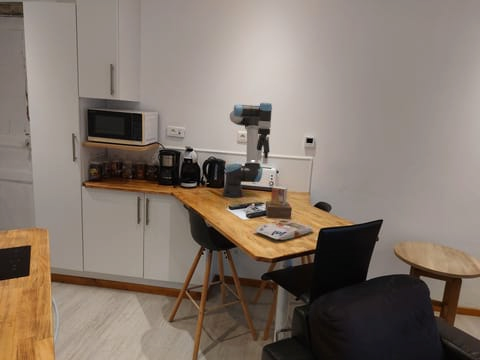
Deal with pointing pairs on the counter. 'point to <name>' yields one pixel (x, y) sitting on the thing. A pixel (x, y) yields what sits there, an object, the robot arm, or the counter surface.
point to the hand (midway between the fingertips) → (261, 162)
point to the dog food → (283, 229)
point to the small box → (279, 196)
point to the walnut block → (278, 211)
